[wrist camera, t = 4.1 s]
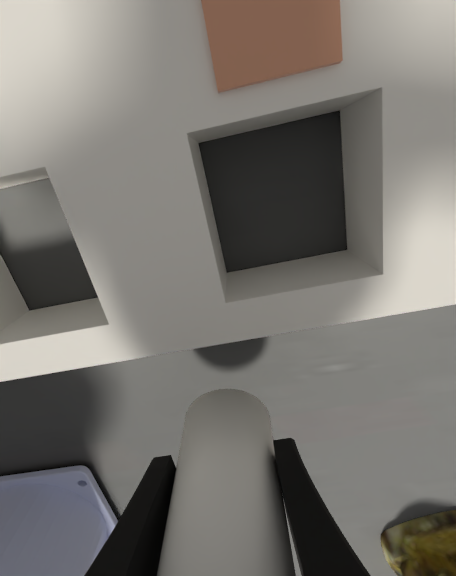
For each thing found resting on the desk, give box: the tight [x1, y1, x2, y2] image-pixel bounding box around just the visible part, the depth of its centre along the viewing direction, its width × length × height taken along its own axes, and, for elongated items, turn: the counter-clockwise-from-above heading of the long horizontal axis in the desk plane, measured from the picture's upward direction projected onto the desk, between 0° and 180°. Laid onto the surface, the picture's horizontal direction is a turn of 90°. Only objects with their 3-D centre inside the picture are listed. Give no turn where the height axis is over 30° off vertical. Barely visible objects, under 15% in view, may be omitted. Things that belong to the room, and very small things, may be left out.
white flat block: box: [0, 0, 456, 382], centre depth 9 cm, size 11×20×3 cm, turn 102°
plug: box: [157, 389, 296, 576], centre depth 9 cm, size 4×4×7 cm
